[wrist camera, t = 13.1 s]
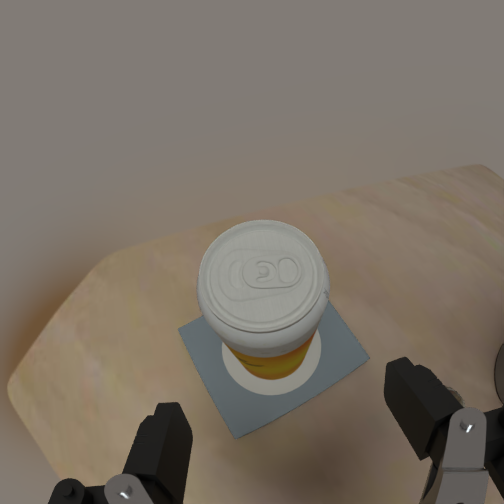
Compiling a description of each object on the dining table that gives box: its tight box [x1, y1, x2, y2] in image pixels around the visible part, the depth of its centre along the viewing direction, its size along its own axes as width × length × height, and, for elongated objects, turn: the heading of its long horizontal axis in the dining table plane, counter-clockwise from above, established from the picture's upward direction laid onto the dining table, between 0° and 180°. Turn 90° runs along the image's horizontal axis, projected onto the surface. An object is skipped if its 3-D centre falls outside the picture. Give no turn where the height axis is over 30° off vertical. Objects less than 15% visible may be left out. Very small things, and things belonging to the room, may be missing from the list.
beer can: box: [197, 220, 330, 380], centre depth 18 cm, size 6×6×15 cm
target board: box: [178, 300, 370, 439], centre depth 25 cm, size 14×12×1 cm
